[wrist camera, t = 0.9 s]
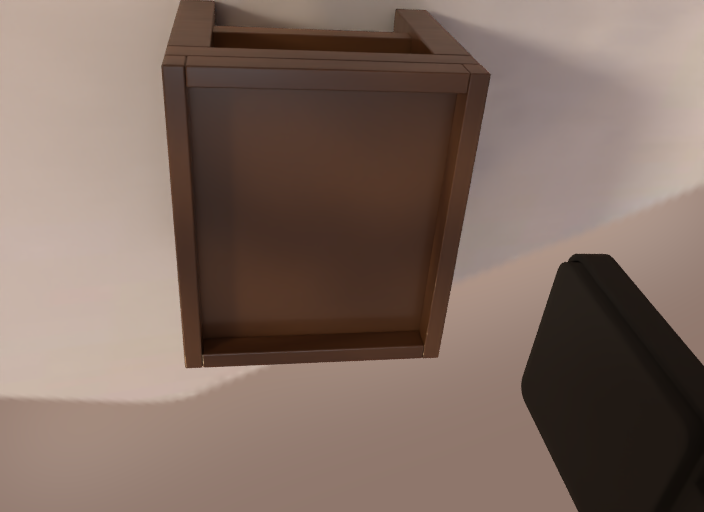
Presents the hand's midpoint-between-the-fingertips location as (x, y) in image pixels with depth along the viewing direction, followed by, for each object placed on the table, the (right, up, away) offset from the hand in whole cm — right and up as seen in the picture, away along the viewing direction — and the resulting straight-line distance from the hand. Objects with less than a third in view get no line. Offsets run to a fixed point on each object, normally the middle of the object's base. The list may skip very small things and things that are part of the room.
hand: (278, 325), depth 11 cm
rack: (-2, +7, +26) cm, 27 cm away
